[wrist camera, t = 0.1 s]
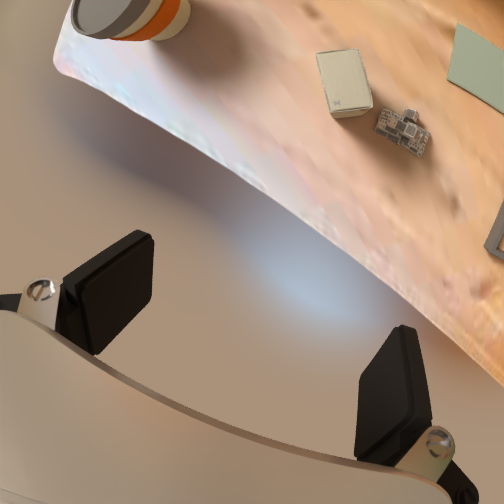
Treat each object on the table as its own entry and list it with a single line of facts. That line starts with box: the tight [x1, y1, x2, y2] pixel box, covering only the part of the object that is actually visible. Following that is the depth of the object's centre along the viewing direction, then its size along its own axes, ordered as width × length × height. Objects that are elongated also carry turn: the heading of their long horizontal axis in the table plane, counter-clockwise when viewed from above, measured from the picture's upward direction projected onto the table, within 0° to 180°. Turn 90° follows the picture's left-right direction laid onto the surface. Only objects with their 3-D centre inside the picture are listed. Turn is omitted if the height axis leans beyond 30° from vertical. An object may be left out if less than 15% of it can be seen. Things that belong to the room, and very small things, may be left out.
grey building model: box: [374, 107, 431, 158], centre depth 28 cm, size 9×9×8 cm
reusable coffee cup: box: [71, 0, 191, 41], centre depth 26 cm, size 13×13×15 cm
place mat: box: [447, 23, 504, 113], centre depth 23 cm, size 10×10×1 cm
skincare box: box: [315, 48, 373, 119], centre depth 27 cm, size 6×4×12 cm
